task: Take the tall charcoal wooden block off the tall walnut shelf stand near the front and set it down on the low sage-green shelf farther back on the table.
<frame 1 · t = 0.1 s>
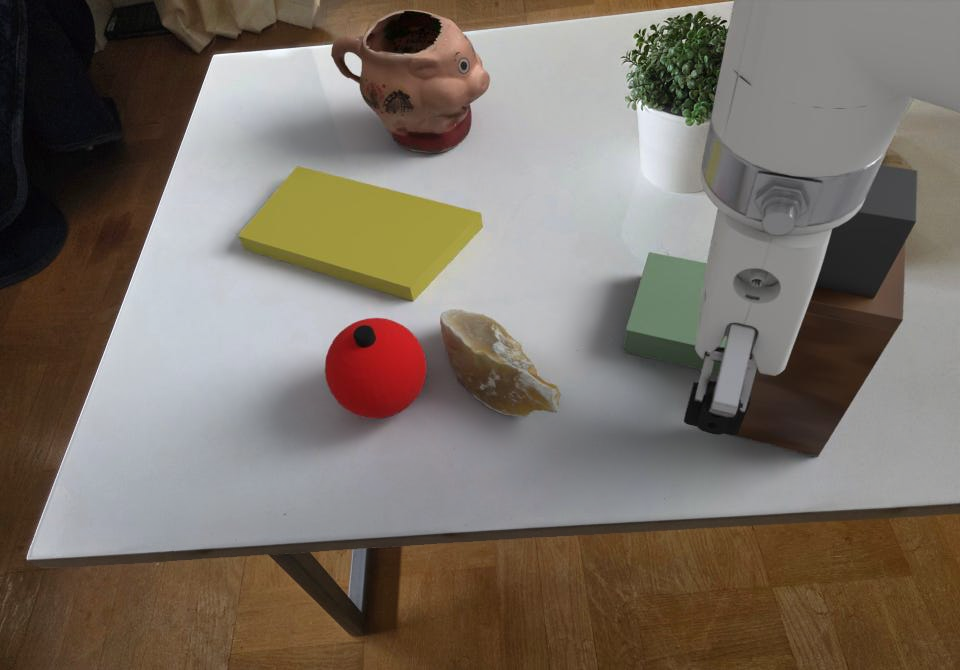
hand: (723, 363, 47), 17 cm above the table, tool pointing down, fingers open, 9 cm apart
face mug: (420, 131, 92), on the table
block: (839, 267, 49), point 19 cm above the table, touching tall shelf
sign: (363, 239, 82), on the table
tall shelf: (773, 410, 64), on the table
ornament: (386, 395, 69), on the table
low shelf: (686, 323, 71), on the table
stone: (503, 378, 69), on the table
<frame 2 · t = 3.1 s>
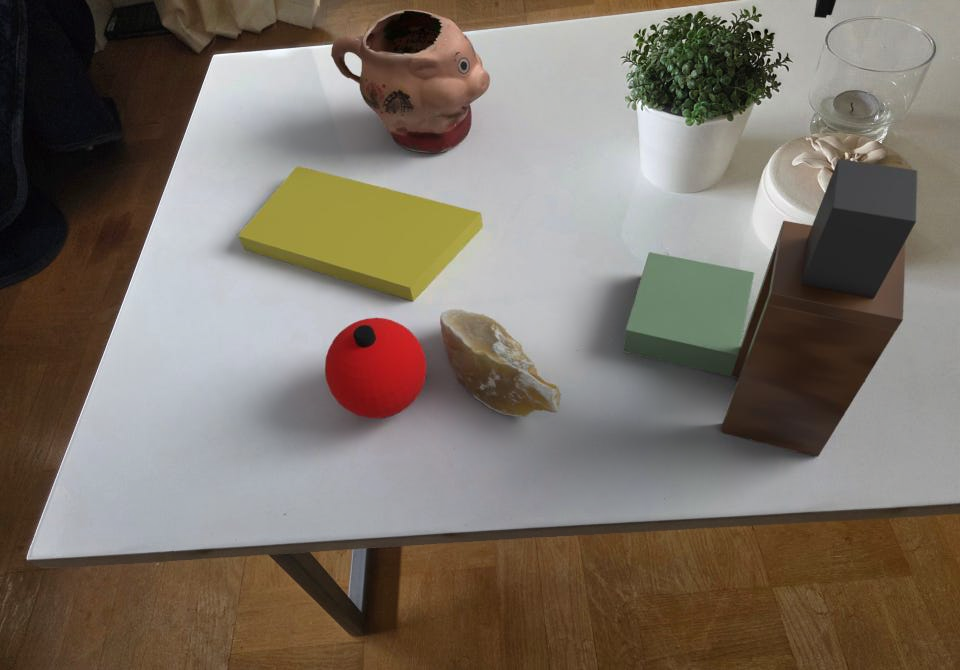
hand: (935, 12, 33), 38 cm above the table, tool pointing down, fingers open, 9 cm apart
nothing on the table moved.
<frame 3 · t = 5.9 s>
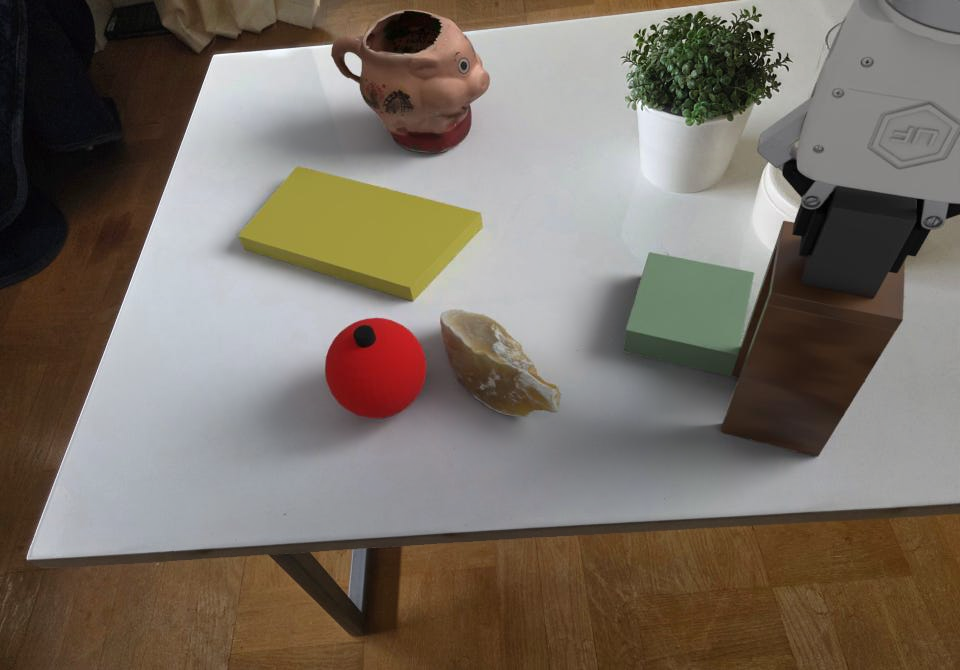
hand: (849, 246, 47), 21 cm above the table, tool pointing down, fingers closed on block, 4 cm apart
block: (839, 267, 49), point 19 cm above the table, touching gripper, tall shelf
everything else where it was.
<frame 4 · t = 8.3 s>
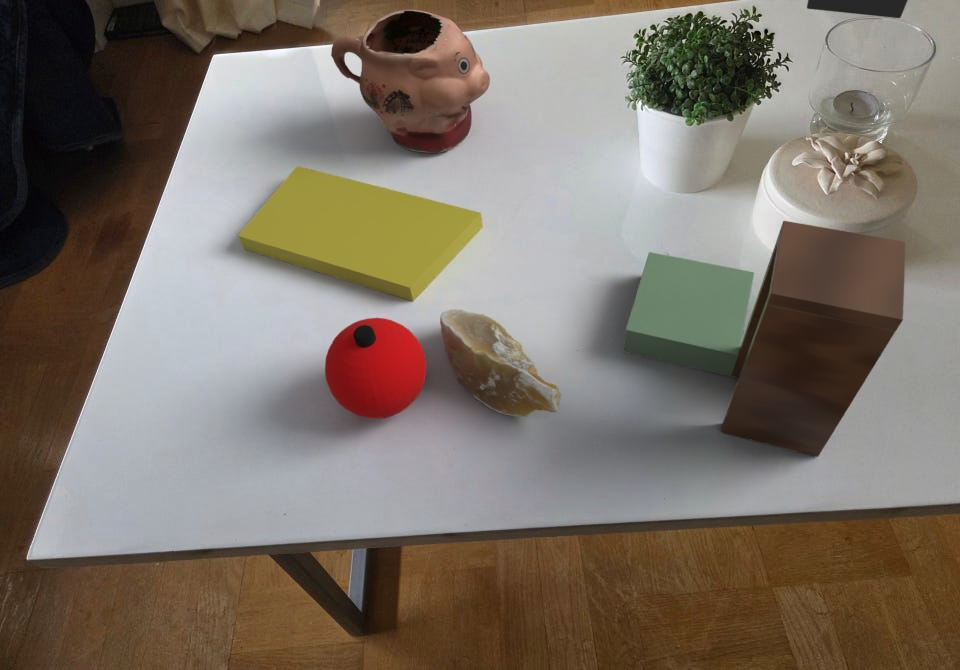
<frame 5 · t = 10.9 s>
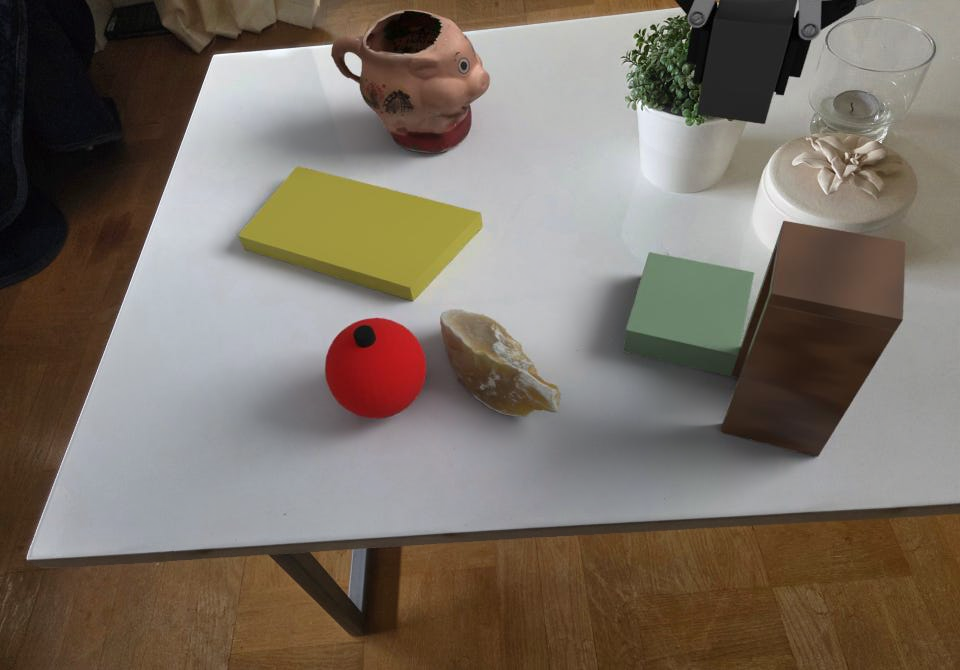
hand: (740, 75, 49), 27 cm above the table, tool pointing down, fingers closed on block, 4 cm apart
block: (735, 99, 50), point 25 cm above the table, touching gripper
everything else where it was.
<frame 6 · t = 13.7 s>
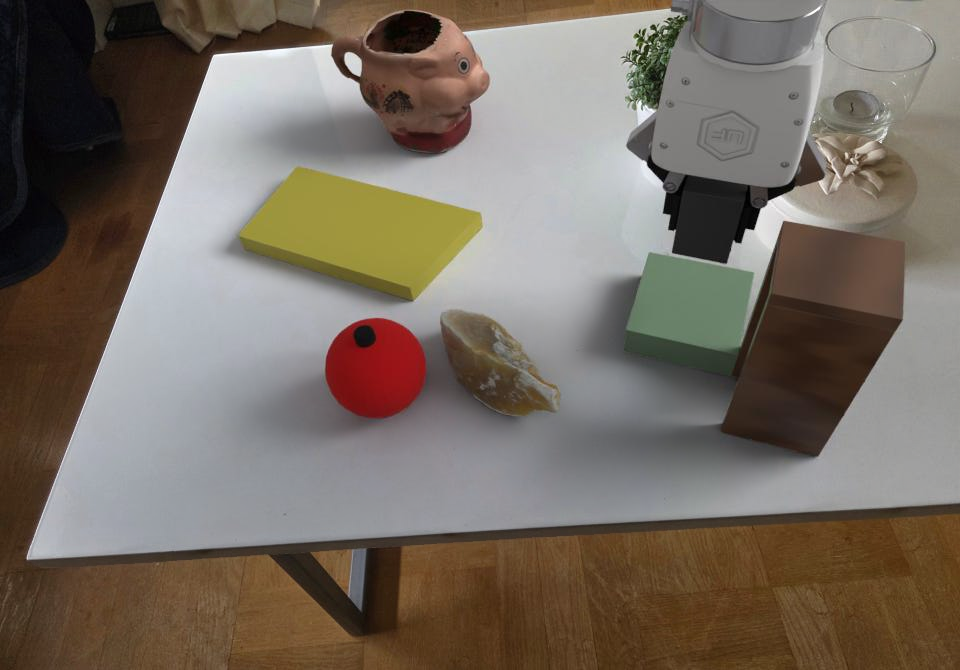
hand: (707, 223, 60), 13 cm above the table, tool pointing down, fingers closed on block, 4 cm apart
block: (703, 239, 61), point 12 cm above the table, touching gripper
everything else where it was.
when the fingers open (5 cm above the table, at t = 16.0 s): block stays where it is, resting on low shelf.
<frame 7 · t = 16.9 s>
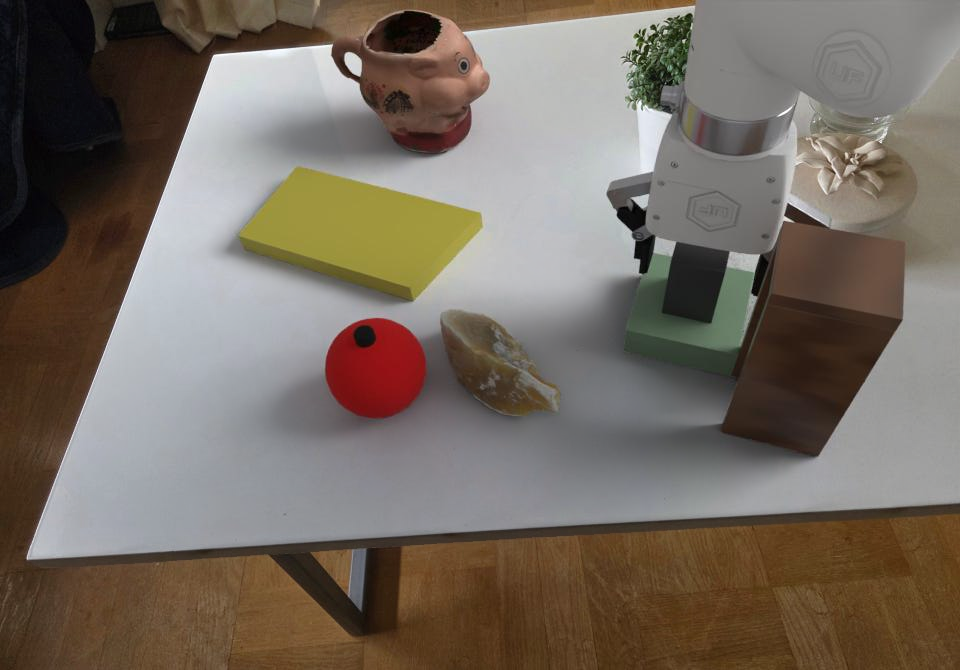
hand: (700, 273, 65), 7 cm above the table, tool pointing down, fingers open, 9 cm apart
block: (690, 300, 68), point 3 cm above the table, touching low shelf
everything else where it was.
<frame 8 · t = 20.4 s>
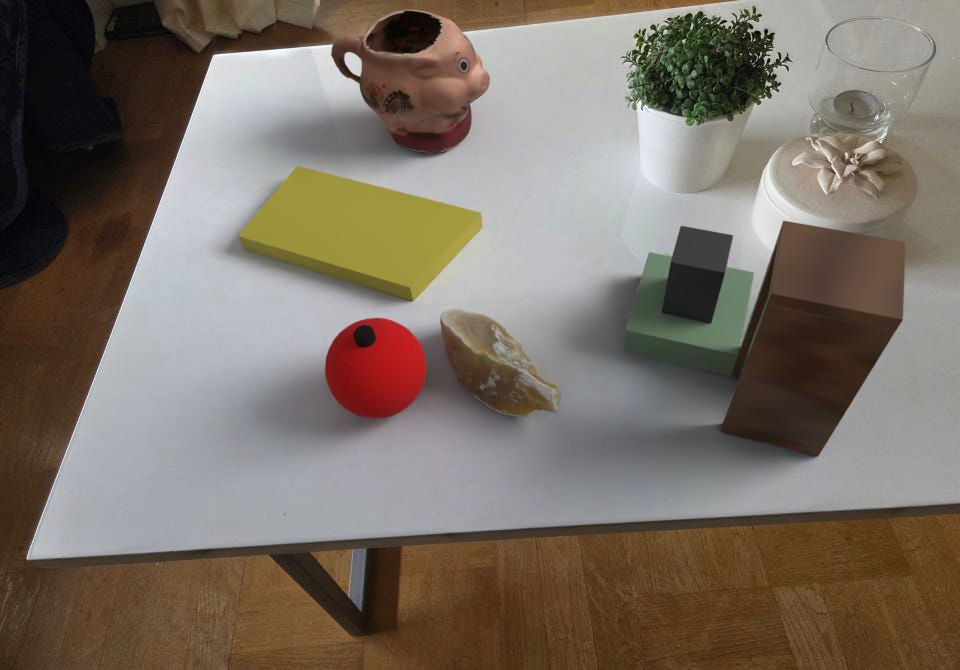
nothing on the table moved.
at the end: block inside the target area on the low shelf (0.1 cm from its centre), point 3.5 cm above the low shelf's base; block tilted 0° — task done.
